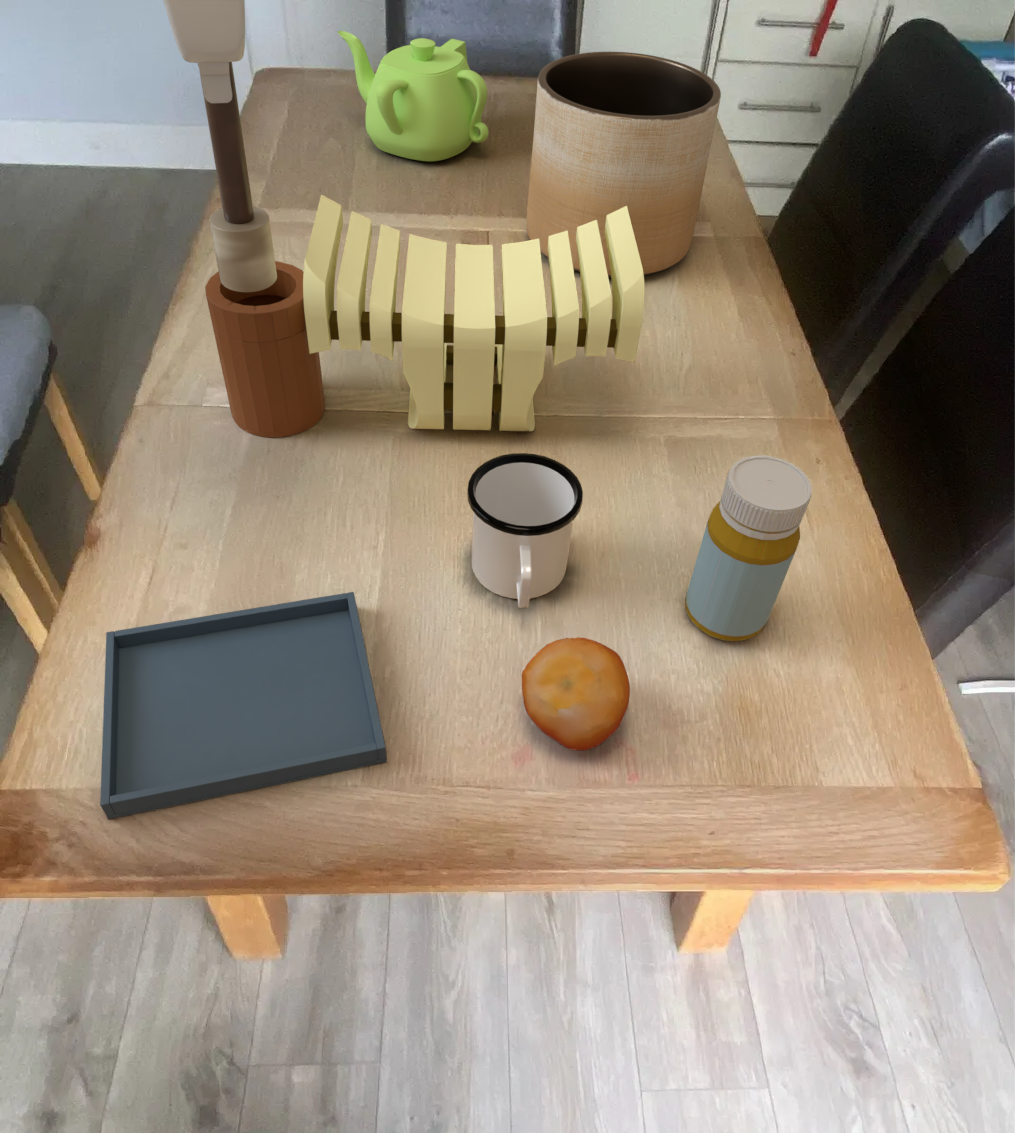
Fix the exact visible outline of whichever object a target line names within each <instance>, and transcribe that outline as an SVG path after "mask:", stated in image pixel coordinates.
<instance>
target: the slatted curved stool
mask: <svg viewBox="0 0 1015 1133" xmlns="http://www.w3.org/2000/svg"><path fill="white" fill-rule="evenodd" d="M343 216H344V214H343V205H341V204H340V203H338V202H336V201H334V200H333V199H330V198H329V197H327V196H325V195H323V194H320V198H319V202H318V206H317V209H316V213H315V218H314V222H313V226H312V231H311V234H310V238H309V241H308V245H307V249H306V254H305V257H304V263H303V272H304V273H303V300H304V313H305V321H306V329H307V337H308V345H309V352H310V354H311V353H316V352H319V353H321V352H326V351H330V350H331V347H332V341H339V350H354V351H355V350H356V351H361V350H362V345H363V341H365V342H370V349H371V350H370V352H371V353H373V354H376V355H380V356H381V357H384V358H386V359H388V360H389V361H391V362H393V361H394V349H395V342H399V343H400V342H401V354H402V355H401V357H402V374H403V376H404V378H405V380H406V382H407V384H408V386H409V388H410V389H409V401H408V414H407V425H408V427H409V428H410V429H416V430H417V429H419V430H420V429H421V430H445V411H452V430H458V431H459V430H460V431H462V430H463V431H491V428H492V414H493V413H492V412H497V414H498V416H497V417H498V431H500V432H502V431H503V432H504V431H506V432H533V431H534V430H535V427H536V421H535V420H536V419H535V409H534V395H535V393H536V391H537V389H538V386H539V385H540V384H541V382H542V380H543V378H544V371H545V363H546V362H545V361H546V350H547V347H551V348H552V359H553V367H555V366H557V365H558V364H561V363H563V362H565V361H568V360H571V359H575V358H576V354H577V348H584V349H583V350H584V356H585V357H603V358H605V357H607V350H608V349H613V352H614V357H615V359H618V360H623V361H626V362H630V363H634V364H635V363H636V358H637V353H638V347H639V342H640V337H641V331H642V325H643V319H644V308H645V276H644V274H643V268H642V264H641V260H640V256H639V252H638V248H637V244H636V240H635V236H634V232H633V228H632V224H631V220H630V216H629V212H628V208H627V206H625V207H623V208H621V209H619V210H617V211H615V212H612V213H610V214H608V215H607V216H606V224H605V231H604V233H605V238H606V243H607V249H608V255H609V262H610V269H611V277H610V279H611V284H610V279H609V277H608V274H607V269H606V264H605V259H604V254H603V249H602V243H601V238H600V233H599V228H598V223H597V220H594V221H592V222H589V223H587V224H584V225H581V226H579V227H577V234H576V244H577V251H578V259H579V267H580V272H579V275H580V276H579V278H580V288H581V317H580V305H579V304H580V303H579V298H578V297H579V296H578V292H577V291H578V290H577V284H576V278H575V277H576V276H575V271H574V270H573V263H572V257H571V250H570V243H569V237H568V230H567V231H564V232H561V233H557V234H554V235H551V236H549V237H548V256H549V258H548V263H549V264H548V265H549V278H550V292H551V294H550V295H551V316H548V311H547V310H548V309H547V302H546V292H545V283H544V282H545V281H544V273H543V263H542V262H543V261H542V252H540V242H539V239H534V240H530V239H529V240H524V241H518V242H517V241H516V242H509V243H503V244H501V280H502V281H501V282H502V283H501V284H502V315H496V308H495V306H496V305H495V277H494V274H495V272H494V245H493V244H468V243H467V244H466V243H455V261H454V262H455V263H454V264H455V266H454V267H455V269H454V302H453V303H454V304H453V306H454V307H453V308H454V309H453V313H446V287H447V286H446V283H447V259H448V258H447V257H448V242H447V241H442V240H437V239H432V238H426V237H423V236H419V235H415V234H412V233H409V234H408V245H407V254H406V265H405V275H404V286H403V296H402V305H401V306H402V307H401V312H397V311H396V310H397V309H396V305H397V288H398V287H397V286H398V284H397V283H398V273H399V261H400V250H401V230H399V229H396V228H393V227H391V226H389V225H386V224H383V223H380V227H379V234H378V241H377V248H376V253H375V254H376V255H375V262H374V268H373V275H372V282H371V283H372V284H371V289H370V297H369V311H366V293H367V292H366V291H367V290H366V289H367V277H368V266H369V257H370V250H371V243H372V237H373V236H372V235H373V226H372V225H373V224H372V219H371V218H369V217H366V216H365V215H362V214H360V213H358V212H356V211H353V210H351V212H350V217H349V221H348V227H347V232H346V236H345V237H346V238H345V242H344V247H343V253H342V257H341V263H340V268H339V272H338V278H337V283H335V282H336V269H337V262H338V254H339V248H340V240H341V236H342V231H343V226H344V217H343ZM335 284H336V310H335ZM451 344H452V345H451ZM447 364H453V367H452V368H453V370H452V371H453V373H452V375H453V376H452V379H453V380H452V381H453V382H447ZM495 366H496V378H497V381H496V383H494V373H495V372H494V369H495Z"/></svg>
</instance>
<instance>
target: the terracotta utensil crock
mask: <svg viewBox="0 0 1015 1133" xmlns="http://www.w3.org/2000/svg"><path fill="white" fill-rule="evenodd" d="M275 265H276V273H277V279H276V281H275V283H274V284H273V285H271V286H270V287H268V288H266V289H263V290H260V291H255V292H238V291H233V290H230V289H228V288H226V287H225V286H224V285H223V284H222V283H221V281H220V276H219V270H218V271H217V272H216V273H215V274H213V275H212V276H210V277H209V279H208V281H207V282H206V284H205V287H204V289H205V297H206V302H207V306H208V311H209V316H210V320H211V326H212V329H213V334H214V339H215V343H216V348H217V354H218V357H219V363H220V367H221V370H222V372H221V373H222V377H223V381H224V386H225V390H226V395H227V400H228V405H229V409H230V413H231V417H232V419H233V422H234V423H235V424H236V425H237V426H238V427H239V428H240V429H241V430H243V431H244V432H246V433H248V434H251V435H253V436H258V437H263V438H285V437H291V436H295V435H297V434H298V435H299V434H301V433H303V432H305V431H307V430H310V428H313V426H315V425H316V424H317V423H318V422H319V421H320V420H321V419H322V417H323V415H324V413H325V409H326V404H325V403H326V400H325V392H324V383H323V375H322V367H321V358H320V352H316V353H311V354H310V352H309V345H308V337H307V329H306V321H305V313H304V300H303V273H304V270H302V269H301V268H299V267H297V266H295V265H293V264H290V263H286V262H281V261H278V260H275Z"/></svg>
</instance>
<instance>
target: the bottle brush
mask: <svg viewBox="0 0 1015 1133" xmlns="http://www.w3.org/2000/svg"><path fill="white" fill-rule="evenodd" d="M233 66H234V65H233V62H229V75H230V82H231V89H232V100H231V101H230V102H228V103H210V102H208V101H207V100H206V99H205V97H204V91H203V85H202V79H201V74H200V70H199V69H198V71H199V77H200V83H201V88H202V95H203V100H204V101H203V102H204V106H205V113H206V119H207V124H208V131H209V135H210V140H211V141H210V142H211V147H212V148H211V149H212V153H213V159H214V165H215V170H216V177H217V184H218V189H219V195H220V201H221V208H219V209H216V210H215V211H213V212H212V213H211V214H210V216H209V226H210V232H211V237H212V242H213V248H214V253H215V260H216V265H217V270H218V271H219V276H220V281H221V283H222V284H223V285H224V286H225V287H226V288H228V289H230V290H233V291H238V292H255V291H260V290H263V289H266V288H268V287H270V286H271V285H273V284H274V283H275V281H276V279H277V273H276V265H275V261H276V258H275V252H274V251H275V250H274V244H273V236H272V226H271V221H270V220H271V219H270V215H269V214H268V212H267V211H266V210H264V208H260V207H258V206H254V205H253V198H252V192H251V184H250V178H249V171H248V163H247V157H246V150H245V144H244V137H243V129H242V122H241V115H240V109H239V101H238V96H237V88H236V87H237V86H236V81H235V74H234V67H233Z"/></svg>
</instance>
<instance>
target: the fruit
mask: <svg viewBox="0 0 1015 1133" xmlns="http://www.w3.org/2000/svg"><path fill="white" fill-rule="evenodd" d="M521 671H522V672H521V675H520V676H521V690H522V699H523V705H524V708H525V712H526V714H527V715H528V717H529V719H530V720H531V721H532V722H533V724H534V725H535V726H536V727H537V728H538V729H539V730H540V731H541V732H542V733H543V734H545V735H546V736H547V737H549V738H550V739H552V740H554V741H555V742H557V743H559V744H560V745H562V746H563V747H565V748H566V749H568V750H575V751H586V750H590V749H594V748H597V747H599V746H601V744H603V743H604V742H605V741H607V739H609V738H610V737H611V736H612V735H614V733H615V732H616V731H617V730H618V729H619V728H620V726H621V725H622V722H623V721H624V717H625V715H626V712H627V711H628V708H629V702H630V696H631V695H630V694H631V685H630V679H629V676H628V673H627V669H626V666H625V664H624V662H623V659H622V658H621V656H620V655H619V654H618V652H617V651H615V650H614V649H612V648H610V647H608V646H607V645H605V644H603V643H600V642H599V641H596V640H593V639H590V638H587V637H580V636H579V637H570V638H569V637H565V638H560V639H556V640H553V641H552V642H549V643H547V644H546V645H545V646H544V647H542V648H541V649H540V650H539V651H538V652H537V653H535V655H534V656H533V657H532V658H531V659H530V660H529V662H527V664H526V666H525V668H524V669H523V670H521Z"/></svg>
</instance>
